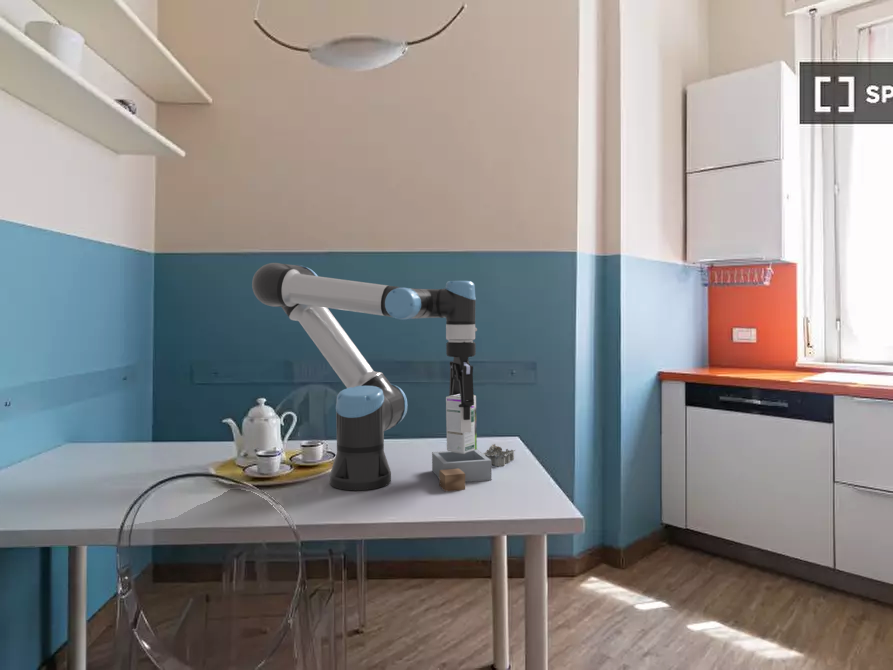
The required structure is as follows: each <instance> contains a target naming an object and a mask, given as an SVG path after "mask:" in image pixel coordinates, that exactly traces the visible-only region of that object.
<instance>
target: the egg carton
mask: <svg viewBox="0 0 893 670" xmlns="http://www.w3.org/2000/svg"><path fill="white" fill-rule="evenodd" d="M514 452H516V449H515V450H513V449H511V450H509V449H508V448H506V449H505V451H504V450H503V449H502V447H501V446H497V445H496V443H494V444H492V445H490V446H489V449H487V450H486V451H485V452H483V454H484V455H485V456H486V457H488V458H489V459H490V460H491V466H492V465H493V466H494V467H500V466H501V467H505V466H506V464H509V463H510V462H511V461H514V460H515V453H514Z"/></svg>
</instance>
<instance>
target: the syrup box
mask: <svg viewBox="0 0 893 670" xmlns="http://www.w3.org/2000/svg"><path fill="white" fill-rule="evenodd" d="M467 401H468V400H467ZM460 404H461V397H460V394H457V395H452V396H449V395H448V396H447V395H446V397H445V420H446V421H445V422H446V425H445V426H446V427H445V428H446V451H450V452H455V453H462V454H465V453H467V452H470V451H473V450H476V449H477V450H478V447H477V446H478V445H477V442H478V441H477V439H478V438H477V437H478V436H477V395H475V394H474V405H472V407H471V432H466V433H461V432H460V407H459V405H460Z"/></svg>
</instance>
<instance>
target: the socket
mask: <svg viewBox="0 0 893 670" xmlns="http://www.w3.org/2000/svg"><path fill="white" fill-rule="evenodd" d="M483 453H484V452H483ZM483 453H482V452H481V451H480V450H478V448H477V449H476V450H473V451H470V452H467V453H465V454H462V453H455V452H450V451H447V450H444V451H432V452H431V458H432V459H431V461H432V462H431V464H432V465H431V468H432V469H431V471H432V472H433V473H434V474H435V475H436V476H437V478H438V479H439V470H446V469H458V468H459V469H460V470H461V471H463V472H464V473H465V483H467V482H479V481H480V482H481V481H482V482H483V481H492V465H491V460H490V459H489V458H488V457H486V456H485V455H484V454H483Z"/></svg>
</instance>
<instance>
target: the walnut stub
mask: <svg viewBox="0 0 893 670" xmlns="http://www.w3.org/2000/svg"><path fill="white" fill-rule="evenodd" d="M438 479H439V480H438V481H439V484H438V485H439V487H441V489H442V490H443V491H444V492H452V491H462V490H463V491H464V490H466V482H465V473H464V472H463V471H461V470H460V469H459V468H458V469H446V470H439V478H438Z"/></svg>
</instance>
